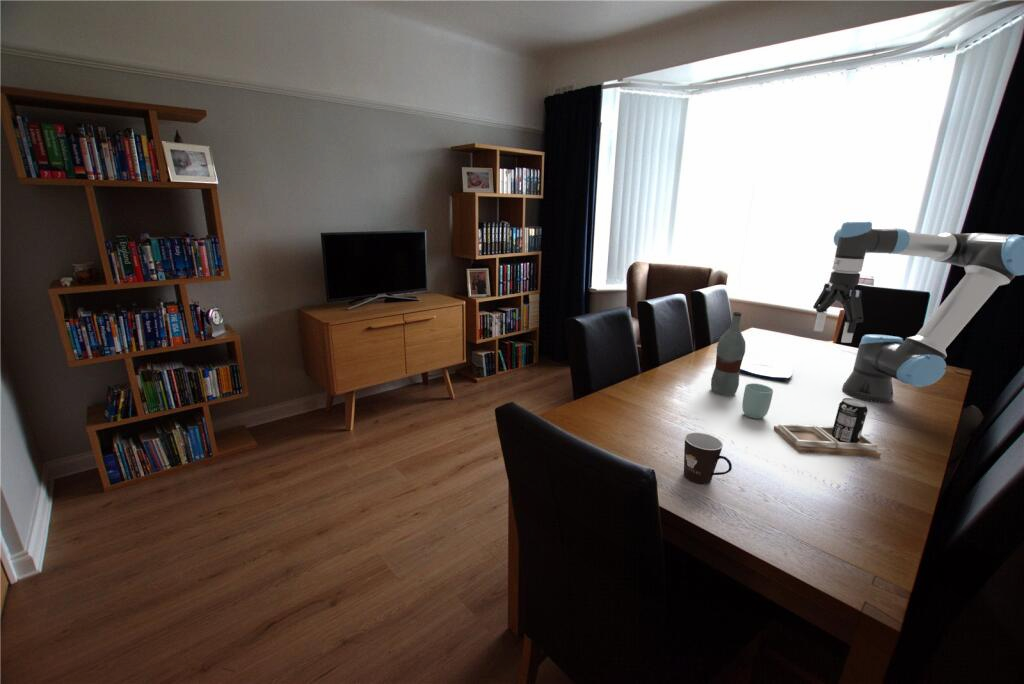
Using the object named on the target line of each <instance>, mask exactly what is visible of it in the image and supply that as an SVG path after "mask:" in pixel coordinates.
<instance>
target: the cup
mask: <svg viewBox="0 0 1024 684" xmlns="http://www.w3.org/2000/svg"><path fill="white" fill-rule="evenodd" d="M773 393H774V390H773V388H772V387H769V386H767V385H764V384H761V383H756V382H755V383H754V382H753V383H747V384H746V385H745V387H744V391H743V396H742V404H741V405H742V407H741V408H742V413H743V414H744V415H745V416H746V417H749V418H751V419H755V420H758V419H759V420H760V419H763V418H765V417H766V416H767V415H768V412H769V410H770V407H771V403H772V399H773Z"/></svg>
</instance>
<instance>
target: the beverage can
mask: <svg viewBox="0 0 1024 684" xmlns="http://www.w3.org/2000/svg"><path fill="white" fill-rule="evenodd" d="M867 415H868V403H866V402H865V401H864V400H861V399H860V400H859V399H858V398H852V397H844V398H842V401H840V402H839V404H838V407H837V412H836V415H835V418H834V422H833V426H832V427H833V430H832V436H833V437H834V438H835V439H836V440H838V441H839V442H847V443H858V442H859V439H860V436H861V434H862V433H863V432H862V431H863V428H864V425H865V421H866V417H867Z"/></svg>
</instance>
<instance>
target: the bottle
mask: <svg viewBox="0 0 1024 684" xmlns="http://www.w3.org/2000/svg"><path fill="white" fill-rule="evenodd" d="M732 314H733V315H732V318H731V324H730V327H729V328H728V329H727V330H726V331H725V332H724V333H723V334H722V335H721V336H720V338H719V340H718V342H717V346H716V355H715V356H716V357H715V367H714V370H713V373H712V377H711V379H710V389H711V392H712V393H713V394H716V395H719V396H723V397H734V396H735V395H736V393H737V391H738V390H739V388H738V387H739V385H740V372H741V371H740V367H741V364H742V360H743V357H745V354H746V341H745V338H744V336H743V333H742V332H741V329H740V324H741V317H742V312H740V311H733V313H732Z"/></svg>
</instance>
